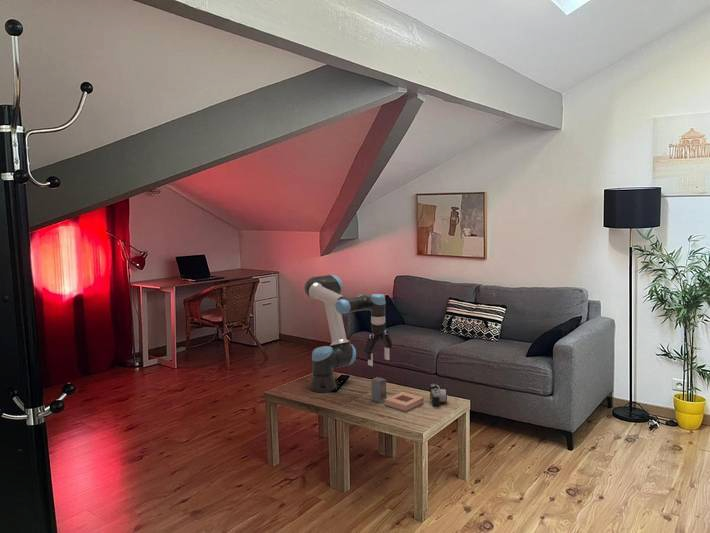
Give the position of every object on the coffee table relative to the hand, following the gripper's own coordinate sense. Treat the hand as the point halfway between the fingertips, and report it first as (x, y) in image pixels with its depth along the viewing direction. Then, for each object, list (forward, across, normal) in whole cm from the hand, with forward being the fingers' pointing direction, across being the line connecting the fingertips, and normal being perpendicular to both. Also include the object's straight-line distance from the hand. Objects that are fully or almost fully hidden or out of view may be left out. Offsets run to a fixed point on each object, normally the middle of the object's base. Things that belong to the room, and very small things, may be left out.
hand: (378, 362), depth 308 cm
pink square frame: (+21, +4, -14) cm, 26 cm away
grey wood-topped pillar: (+21, 0, 0) cm, 21 cm away
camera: (+22, +18, -26) cm, 38 cm away
